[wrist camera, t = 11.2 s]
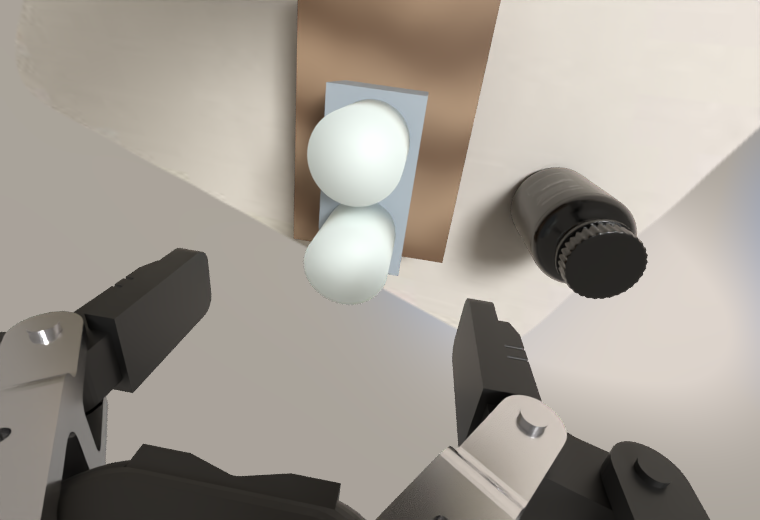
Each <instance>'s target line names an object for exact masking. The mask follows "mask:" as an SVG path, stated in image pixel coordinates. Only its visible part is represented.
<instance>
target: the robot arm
mask: <svg viewBox="0 0 760 520" xmlns="http://www.w3.org/2000/svg"><path fill="white" fill-rule="evenodd" d="M210 302H211V288H210V278H209V267H208V259H207V256H206V254H205V253H204V252H200V251H194V250H188V249H182V248H177V249H175V250H174V251H172V252H171V253H169V254H168V255H166V256H165V257H164V258H162V259H161V260H159V261H155V262H153V263H150V264H148V265H145V266H142V267H139V268H138V269H137V270H135V271H134V272H132V273H131V274H129V275H128V276H126V279H122V280H120V281H119V282H117V283H116V284H115V286H114V287H113V286H111V287H110V288H109V289H107V290H106V291H104V292H103V293H101V294H100V295H98V296H97V297H96V298H94V299H93V300H91V301H89V302H88V303H87V304H85V305H84V306H82V307H81V308H79V309H78V310H76V311H75V312H66V311H59V312H49V313H44V314H40V315H36V316H33V317H30V318H28V319H26V320H23V321H21V322H19V323H17V324H16V325H15V326H13V327H12V328H10V329H9V330H8V331H7V332H0V520H365V519H364V518H363V517H362V516H361V515H360V514H359V513H358V512H356V511H355V510H353V509H352V508H351V507H349V506H348V505H346V504H344V503H342V502H340V501H339V493H340V485H341V484H340V483H336V482H331V481H326V480H321V479H316V478H311V477H306V476H301V475H296V474H273V475H255V476H233V475H230V474H228V473H226V472H224V471H223V470H221V469H219V468H217V467H215V466H213V465H211V464H210V463H208V462H206V461H204V460H202V459H200V458H198V457H196V456H195V455H193V454H191V453H187V452H182V451H176V450H172V449H166V448H161V447H157V446H152V445H147V444H143V445H142V446H141V447H140V448H139V450H138V451H137V452H136V454H135V455H134V456H133V457H132V459H131V460H128V461H121V462H115V463H111V464H106V441H107V440H106V439H107V416H108V402H107V398H106V395H107V394H108V393H109V392H110V391H111V390H112V389H115V390H120V391H125V392H131V393H133V392H134V391H135V390H136V389H137V388H138V387H139V386H140V385H141V384H142V382H143V381H144V380H145V379H146V378H147V377H148V376H149V375H150V374H151V372H153V370H154V369H155V368H156V367H157V366H158V365H159V364H160V363H161V362H162V361H163V360H164V358H166V356H167V355H168V354H169V353H170V352H171V351H172V350H173V349H174V348H175V347H176V346H177V344H178V343H179V342H180V341H181V340H182V339H183V338H184V337H185V336H186V335H187V334H188V333H189V332H190V330H191V329H192V328H193V327H194V326H195V325H196V324H197V323H198V322H199V321H200V319H201V318H202V317H203V316H204V315H205V314H206V312H207V311H208V309H209V306H210ZM527 360H528V358H527V356H526V352H525V351H524V346H523V343H522V340H521V337H520V335H519V334H518V332H517V331H516V330H515V329H514V328H513V327H512V326H511V324H510V323H509V322H503V321H498V319H497V315H496V311H495V307H494V304H493V303H492V302H486V301H481V300H475V299H469V298H467V300H466V301H465V304H464V308H463V311H462V315H461V318H460V322H459V326H458V329H457V333H456V337H455V340H454V346H453V356H452V362H453V376H454V391H455V404H456V419H457V433H458V446H459V447H458V448H457V449H456V450H455V449H454V448H453V447H451V446H450V447H447V448H446V449H444V450H443V451H442V452H441V453H440V454H439V455H438V456H437V457H436V458H435V459H434V460H433V461H432V462H431V463H430V464H429V465H428V466H427V467H426V468H425V469H424V470H423V471H422V472H421V474H420V475H419V476H418V477H417V478H416V479H415V480H414V481H413V482H412V483H411V484H410V485H409V486H408V487H407V488H406V489H405V490H404V491H403V492H402V493H401V494H400V495H399V496H398V497H397V498H396V499H395V500H394V501H393V502H392V503H391V504H390V505H389V506H388V507H387V509H385V510H384V511H383V512H382V514H381V515H380V516H379V517H378V518H377V519H376V520H710V519H709V517H708V515H707V514H706V512H705V510H704V508H703V506H702V505H701V503H700V501H699V499H698V498H697V496H696V494H695V492H694V490H693V489H692V487H691V485H690V483H689V482H688V480H687V479H686V477H685V476H684V475H683V473H682V472H681V471H680V470H679V469H678V468H677V467H676V466H675V465H674V464H673V463H672V462H671V461H670V460H668V459H667V458H666V457H664V456H663V455H661V454H660V453H659V452H657V451H655V450H653V449H651V448H649V447H647V446H645V445H642V444H639V443H636V442H630V441H624V442H620V443H617V444H616V445H615V446H613V448H612V450H611V451H610V453H609V452H607V451H604V450H602V449H600V448H598V447H595V446H593V445H591V444H589V443H586V442H584V441H582V440H580V439H578V438H576V437H574V436H572V435H570V434H569V433H567V431H566V428H565V425H564V423H563V421H562V420H561V418H560V417H559V416H558V414H557V413H556V412H555V411H554V410H553V409H551V408H550V407H549V406H548V405H546V404H545V403H543V402H542V401H541V398H540V395H539V392H538V389H537V386H536V383H535V380H534V377H533V374H532V371H531V368H530V365H529V362H527Z"/></svg>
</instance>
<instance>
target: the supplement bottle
mask: <svg viewBox="0 0 760 520" xmlns="http://www.w3.org/2000/svg"><path fill="white" fill-rule="evenodd" d="M511 216H512V220H513V223H514V225H515V227H516V229H517V231H518V232H519V234H520V236H521V238H522V240H523V241H524V243H525V245H526V247H527V249H528V250H529V252H530V254H531V256H532V258H533V259H534V261H535V263H536V264H537V266H538V267H539V268H540V270H541V271H542V272H543V273H544V274H546V275H547V276H548V277H550V278H552V279H554V280H556V281H559V282H562V283H566V284H567V285H568V287H569V288H571V289H572V290H573V291H574V292H575V293H578V294H579V295H580V296H585V297H586V298H593V299H597V298H600V299H604V298H606V297H609V298H610V297H612V296H615V295H619V294H620V293H622V292H626V290H628V289H629V288H631V287H632V286H633V285H634V284H635V283H636V282H638V280H639V278H640V277H641V276H642V275H643V272H644V270H645V269H646V264H647V256H648V255H647V254H646V248H645V247H644V246H643V243H642V241H640V240H639V239H638V238H637V227H636V223H635V220H634V218H633V215H632V214H631V212H630V211H629V210H628V208H627V207H626V206H624V205H623V204H622V203H621V202H619V201H618V200H617V199H615V198H614V197H612V196H611V195H610V194H608V193H607V192H605V191H604V190H602V189H601V188H600V187H598V186H597V185H595V184H594V183H592V182H591V181H590V180H588V179H587V178H585V177H584V176H582V175H581V174H579V173H577V172H576V171H573V170H571V169H567V168H560V167H555V168H548V169H544V170H541V171H538V172H536V173H534V174H533V175H531V176H530V177H528V178H527V179H526V180H525V181H524V182H523V183H522V184H521V185H520V186H519V187H518V189H517V191H516V192H515V194H514V197H513V200H512V203H511Z"/></svg>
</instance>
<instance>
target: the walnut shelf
mask: <svg viewBox="0 0 760 520" xmlns="http://www.w3.org/2000/svg"><path fill="white" fill-rule="evenodd" d="M500 1H501V0H298V18H297V76H296V135H295V193H294V239H300V240H306V241H312V240H313V239H314V237H315V236H316V234H317V233H318V231H319V214H320V194H321V189H320V188H319V187H318V185H317V184H316V183H315V181H314V179H313V177H312V175H311V172H310V169H309V166H308V160H307V149H308V143H309V139H310V136H311V134H312V132H313V130H314V128H315V127H316V125H317V124H318V123H319V122H320V121H321V120H322V119H323V118H324V116H325V96H326V82H332V81H342V80H348V81H355V82H362V83H369V84H376V85H383V86H391V87H398V88H405V89H412V90H419V91H426V92H429V93H428V100H427V106H426V112H425V118H424V124H423V130H422V136H421V142H420V148H419V154H418V160H417V166H416V172H415V178H414V184H413V190H412V196H411V202H410V208H409V214H408V220H407V226H406V232H405V238H404V244H403V250H402V256H404V257H410V258H416V259H422V260H428V261H434V262H440V263H442V261H443V257H444V252H445V248H446V243H447V239H448V234H449V230H450V225H451V221H452V216H453V212H454V207H455V203H456V199H457V194H458V190H459V185H460V181H461V176H462V172H463V167H464V163H465V158H466V154H467V149H468V145H469V140H470V136H471V131H472V127H473V122H474V118H475V113H476V109H477V104H478V100H479V95H480V91H481V86H482V82H483V77H484V73H485V68H486V64H487V59H488V55H489V50H490V46H491V42H492V37H493V33H494V28H495V24H496V19H497V15H498V10H499V6H500Z"/></svg>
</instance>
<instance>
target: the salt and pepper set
mask: <svg viewBox="0 0 760 520" xmlns="http://www.w3.org/2000/svg"><path fill="white" fill-rule="evenodd" d="M428 93H429V92H426V91H419V90H412V89H405V88H398V87H391V86H383V85H376V84H369V83H362V82H355V81H348V80H342V81H332V82H326V96H325V116H324V118H323V119H322V120H321V121H320V122H319V123H318V124H317V125H316V127H315V128H314V130H313V132H312V134H311V136H310V139H309V143H308V149H307V160H308V166H309V169H310V172H311V175H312V177H313V179H314V181H315V183H316V184H317V185H318V187H319V188H320V189H321V194H320V214H319V231H318V233H317V234H316V236H315V237H314V239H313V240H312V241H311V243H310V244H309V246H308V247H307V250H306V252H305V256H304V270H305V274H306V276H307V279H308V281H309V282H310V284H311V285H312V287H313V288H314V289H315V290H316V291H317V292H318V293H319V294H320V295H322V296H324V297H325V298H326V299H328V300H331V301H333V302H336V303H340V304H346V305H354V304H360V303H364V302H367V301H369V300H370V299H372V298H374V297H375V296H376V295H377V294H378V293H379V292H380V291H381V290H382V288H383V287H384V285H385V283H386V280H387V275H388V274H390V275H396V276H398V274H399V268H400V262H401V256H402V250H403V244H404V238H405V232H406V226H407V220H408V214H409V208H410V202H411V196H412V190H413V184H414V178H415V172H416V166H417V160H418V154H419V148H420V142H421V136H422V130H423V124H424V118H425V112H426V106H427V100H428Z"/></svg>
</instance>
